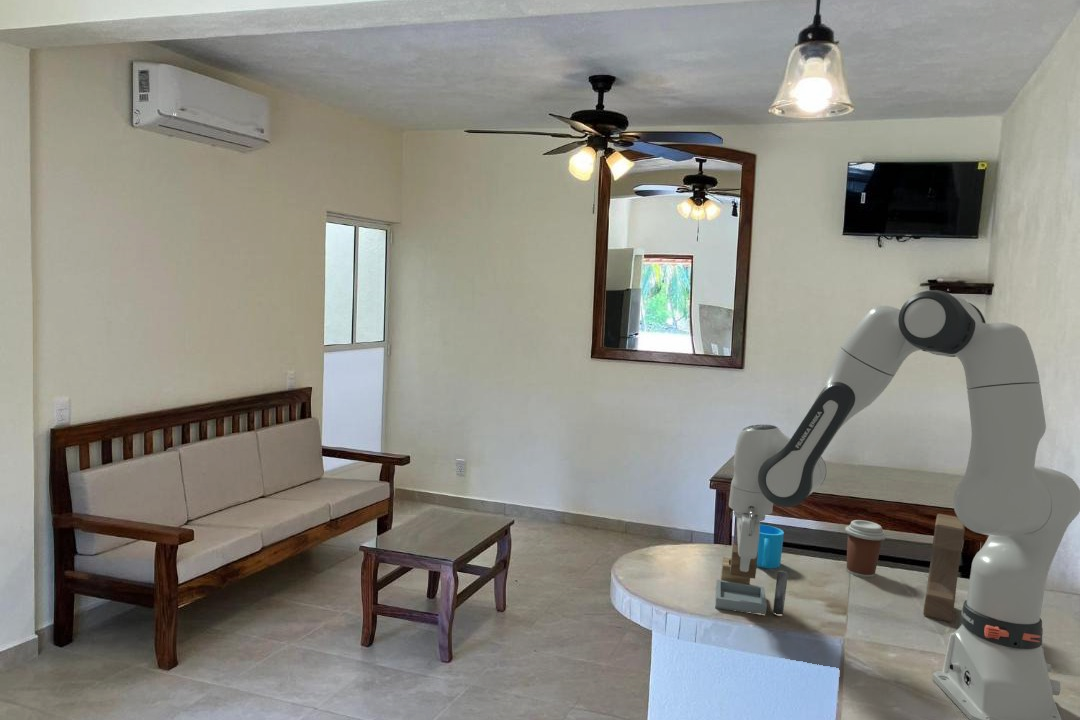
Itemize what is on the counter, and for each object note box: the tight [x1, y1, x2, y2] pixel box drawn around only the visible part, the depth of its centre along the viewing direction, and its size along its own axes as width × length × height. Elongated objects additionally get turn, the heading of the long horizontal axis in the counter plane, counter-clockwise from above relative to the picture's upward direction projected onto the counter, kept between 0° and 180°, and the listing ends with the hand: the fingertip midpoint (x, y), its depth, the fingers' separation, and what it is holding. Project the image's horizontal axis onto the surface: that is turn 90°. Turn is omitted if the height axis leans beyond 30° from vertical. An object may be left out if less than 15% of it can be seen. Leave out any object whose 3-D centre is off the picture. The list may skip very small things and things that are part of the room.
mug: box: [757, 524, 785, 569], centre depth 198 cm, size 12×8×8 cm
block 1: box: [730, 543, 758, 580], centre depth 172 cm, size 5×5×5 cm
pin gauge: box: [772, 569, 789, 615], centre depth 167 cm, size 2×2×9 cm
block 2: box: [720, 556, 751, 585], centre depth 183 cm, size 6×6×5 cm
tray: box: [714, 579, 768, 615], centre depth 173 cm, size 11×10×2 cm
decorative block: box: [922, 513, 965, 623], centre depth 176 cm, size 11×6×20 cm, turn 151°
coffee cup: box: [844, 519, 887, 578], centre depth 198 cm, size 9×9×12 cm
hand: (743, 565), depth 172 cm, fingers closed on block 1, 5 cm apart
